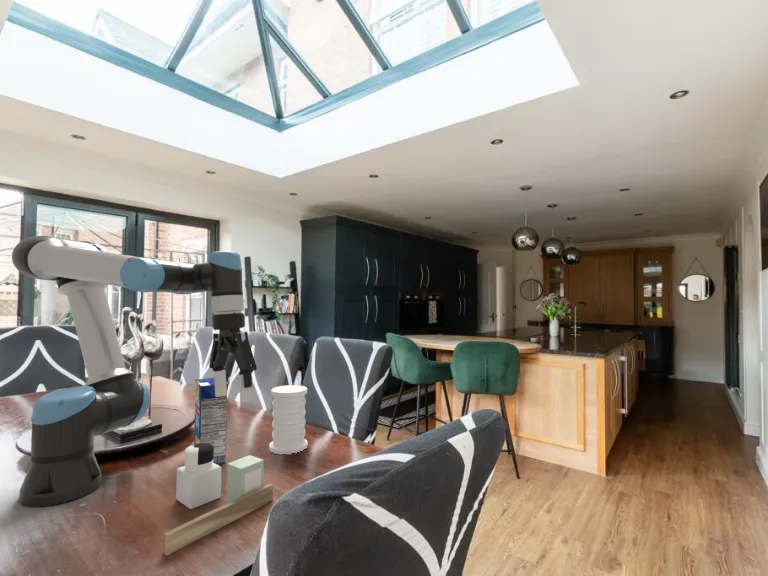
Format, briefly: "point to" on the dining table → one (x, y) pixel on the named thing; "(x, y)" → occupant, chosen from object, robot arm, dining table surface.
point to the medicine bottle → (198, 477)
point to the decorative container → (288, 419)
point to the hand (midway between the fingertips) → (233, 398)
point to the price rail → (215, 519)
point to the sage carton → (244, 476)
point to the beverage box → (210, 418)
